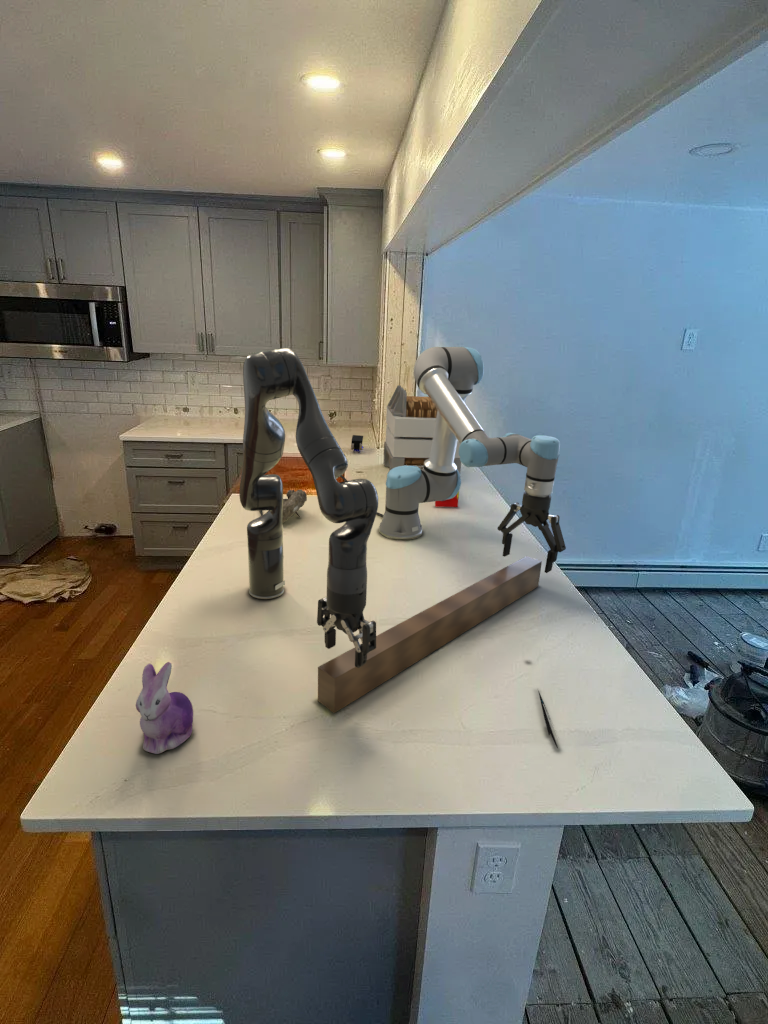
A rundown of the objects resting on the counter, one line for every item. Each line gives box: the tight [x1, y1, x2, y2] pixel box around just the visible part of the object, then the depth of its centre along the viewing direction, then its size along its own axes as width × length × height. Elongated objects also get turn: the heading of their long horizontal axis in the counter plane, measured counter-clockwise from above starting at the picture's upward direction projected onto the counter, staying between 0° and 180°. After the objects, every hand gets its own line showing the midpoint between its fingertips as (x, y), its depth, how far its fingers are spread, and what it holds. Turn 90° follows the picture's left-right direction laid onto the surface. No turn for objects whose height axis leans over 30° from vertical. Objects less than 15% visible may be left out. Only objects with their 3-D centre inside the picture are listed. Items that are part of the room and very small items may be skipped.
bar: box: [317, 555, 543, 714], centre depth 138 cm, size 80×5×8 cm, turn 137°
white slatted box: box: [383, 384, 462, 475], centre depth 268 cm, size 34×33×41 cm
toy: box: [434, 491, 460, 508], centre depth 240 cm, size 12×13×30 cm
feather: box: [528, 660, 560, 749], centre depth 116 cm, size 2×28×2 cm
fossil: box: [282, 489, 308, 524], centre depth 209 cm, size 22×10×15 cm
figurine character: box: [350, 434, 364, 454], centre depth 311 cm, size 7×8×15 cm
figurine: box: [135, 661, 194, 755], centre depth 100 cm, size 9×10×15 cm
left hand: (345, 656), depth 112 cm, fingers open, 8 cm apart
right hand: (526, 563), depth 162 cm, fingers open, 13 cm apart
